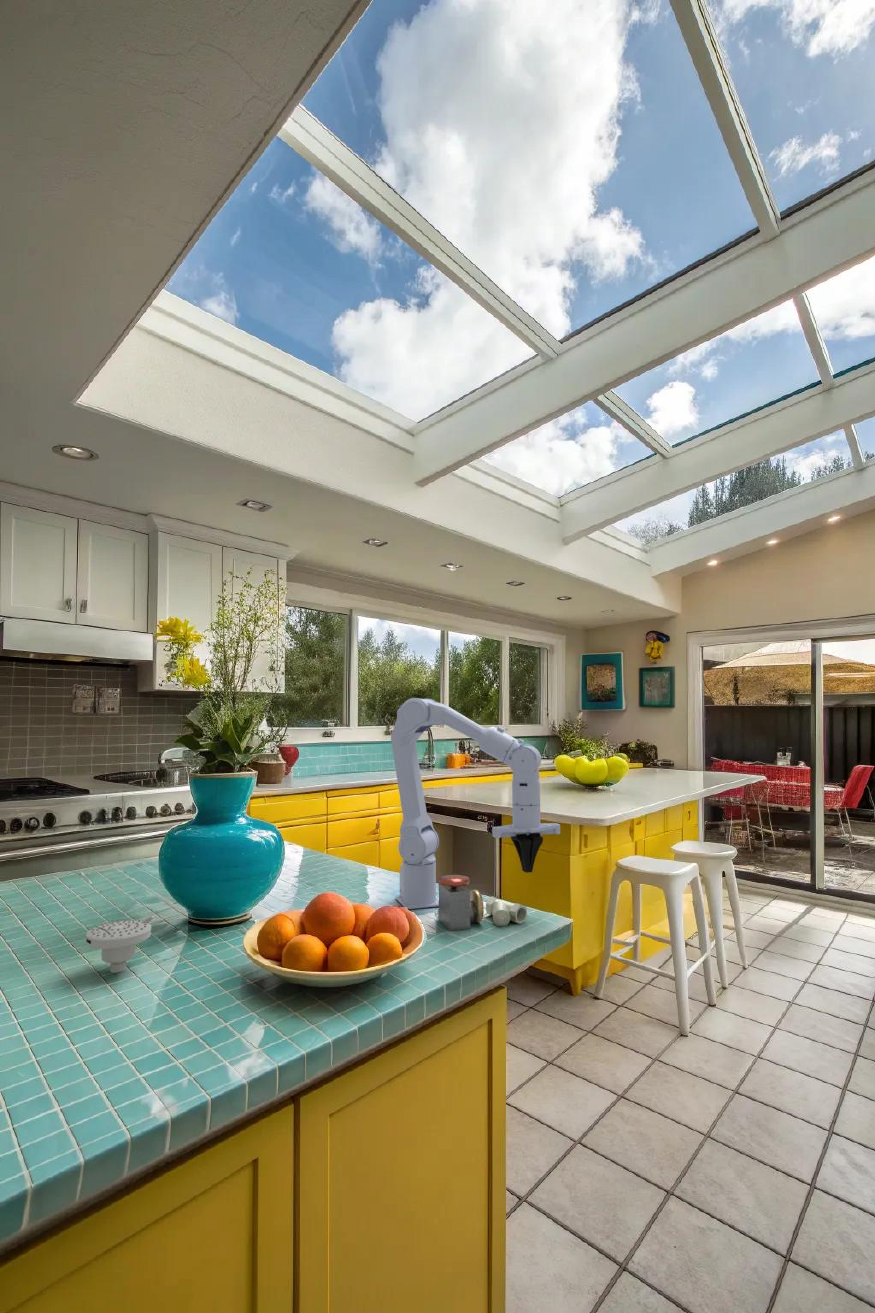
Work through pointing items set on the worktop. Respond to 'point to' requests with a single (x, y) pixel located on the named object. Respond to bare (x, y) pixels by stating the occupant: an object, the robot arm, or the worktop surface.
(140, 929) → the showerhead
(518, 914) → the pipe fitting
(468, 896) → the grey block with discs
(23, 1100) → the worktop surface
